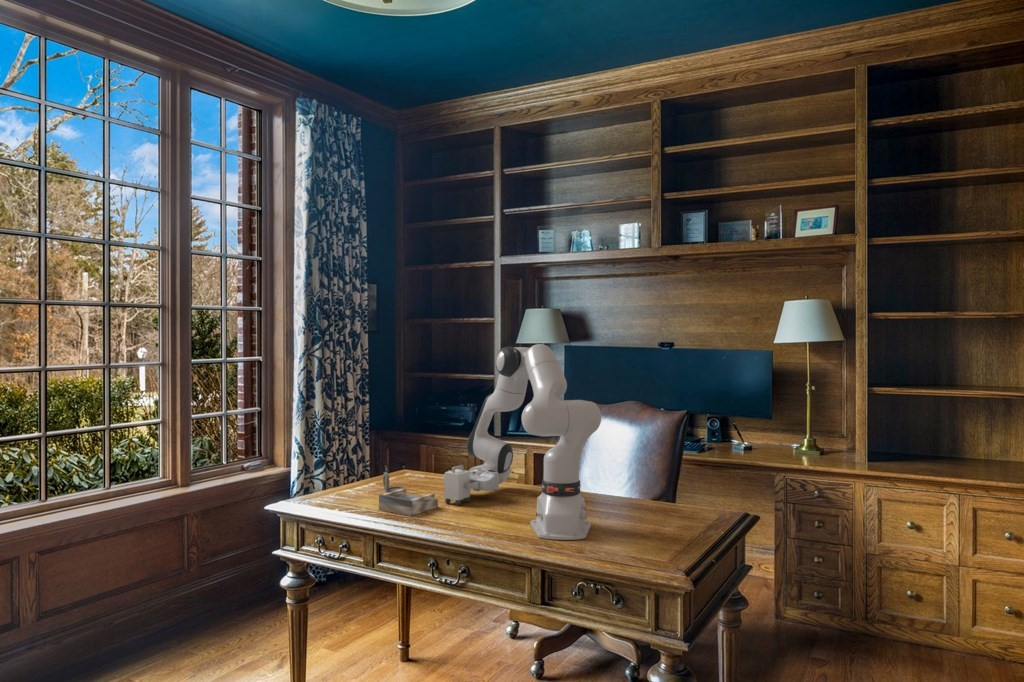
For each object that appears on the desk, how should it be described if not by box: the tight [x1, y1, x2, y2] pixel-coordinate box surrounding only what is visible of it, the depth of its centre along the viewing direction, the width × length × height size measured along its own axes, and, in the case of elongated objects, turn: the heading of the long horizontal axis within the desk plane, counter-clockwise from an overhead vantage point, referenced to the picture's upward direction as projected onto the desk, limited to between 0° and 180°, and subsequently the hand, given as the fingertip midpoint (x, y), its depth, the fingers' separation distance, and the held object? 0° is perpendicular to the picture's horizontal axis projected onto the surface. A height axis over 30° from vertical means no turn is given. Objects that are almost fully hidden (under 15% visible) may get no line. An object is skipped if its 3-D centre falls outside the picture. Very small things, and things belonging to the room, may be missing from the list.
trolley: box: [444, 464, 471, 506], centre depth 240 cm, size 7×6×13 cm
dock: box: [378, 487, 439, 517], centre depth 231 cm, size 14×14×5 cm
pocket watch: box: [382, 465, 404, 493], centre depth 256 cm, size 8×8×10 cm
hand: (456, 484), depth 239 cm, fingers open, 8 cm apart
